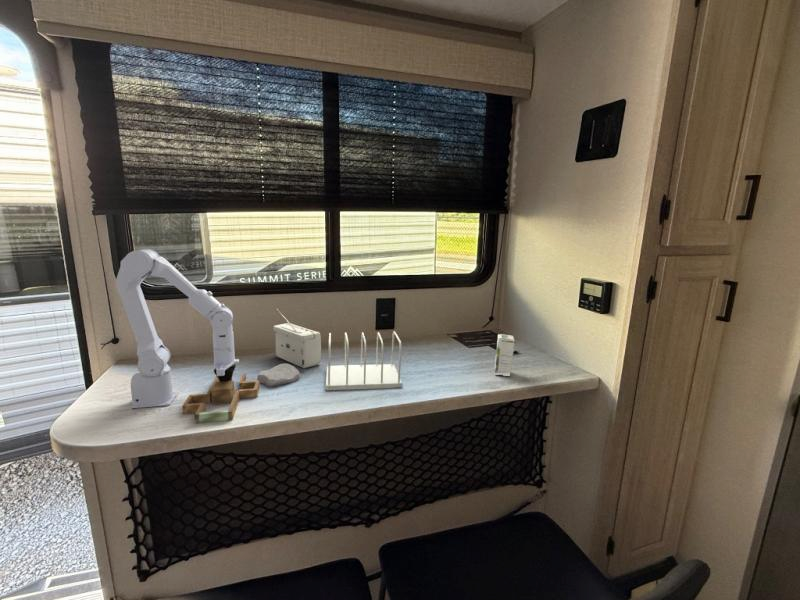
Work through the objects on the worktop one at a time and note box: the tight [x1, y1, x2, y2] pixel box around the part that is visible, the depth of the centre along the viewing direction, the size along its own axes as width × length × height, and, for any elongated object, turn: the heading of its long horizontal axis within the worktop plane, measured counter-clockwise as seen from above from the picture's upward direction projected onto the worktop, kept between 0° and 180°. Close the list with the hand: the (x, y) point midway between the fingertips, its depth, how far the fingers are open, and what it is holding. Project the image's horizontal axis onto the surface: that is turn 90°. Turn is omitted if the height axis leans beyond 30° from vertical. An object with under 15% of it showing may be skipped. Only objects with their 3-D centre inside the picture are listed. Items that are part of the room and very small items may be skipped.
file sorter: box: [325, 331, 403, 391], centre depth 127 cm, size 25×17×16 cm
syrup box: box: [494, 333, 515, 374], centre depth 135 cm, size 6×6×14 cm
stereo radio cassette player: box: [272, 308, 322, 369], centre depth 141 cm, size 21×8×20 cm, turn 50°
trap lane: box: [181, 373, 261, 424], centre depth 110 cm, size 18×27×2 cm
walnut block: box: [211, 380, 235, 406], centre depth 109 cm, size 5×6×4 cm
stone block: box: [257, 363, 301, 388], centre depth 125 cm, size 12×5×10 cm
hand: (226, 389), depth 114 cm, fingers closed
